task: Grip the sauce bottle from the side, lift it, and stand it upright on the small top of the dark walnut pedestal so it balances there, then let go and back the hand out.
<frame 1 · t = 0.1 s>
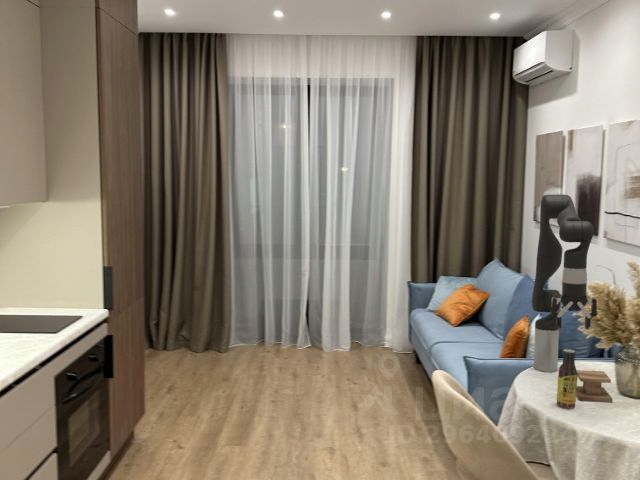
hand: (572, 328, 202), 29 cm above the table, tool pointing down, fingers open, 8 cm apart
sauce bottle: (566, 406, 210), on the table
walnut pedestal: (591, 395, 219), on the table
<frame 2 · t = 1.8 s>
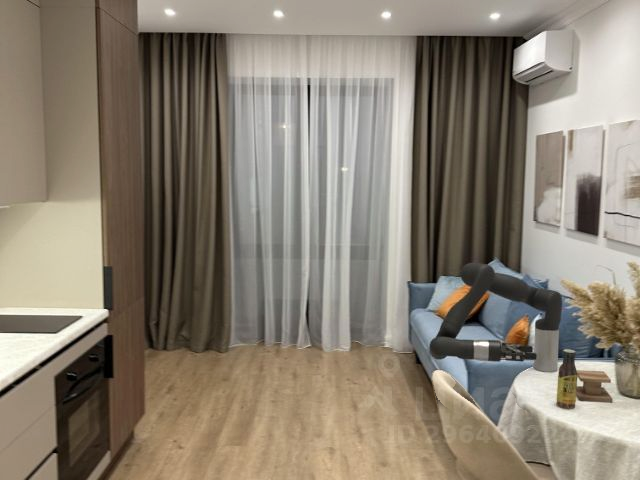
hand: (534, 352, 210), 19 cm above the table, tool horizontal, fingers open, 8 cm apart
nothing on the table moved.
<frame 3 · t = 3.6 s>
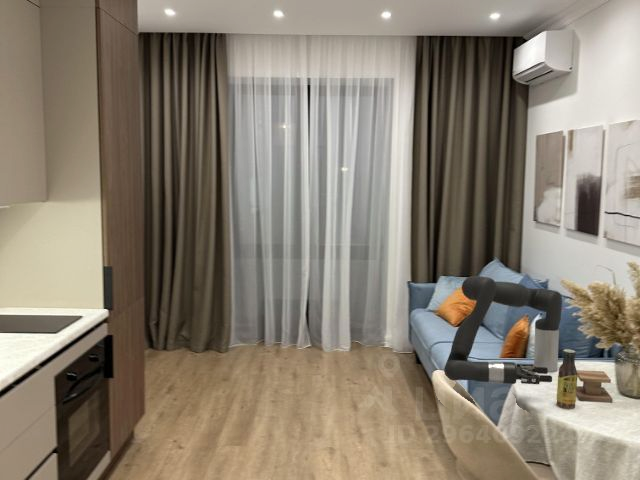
hand: (549, 374, 210), 11 cm above the table, tool horizontal, fingers open, 8 cm apart
nothing on the table moved.
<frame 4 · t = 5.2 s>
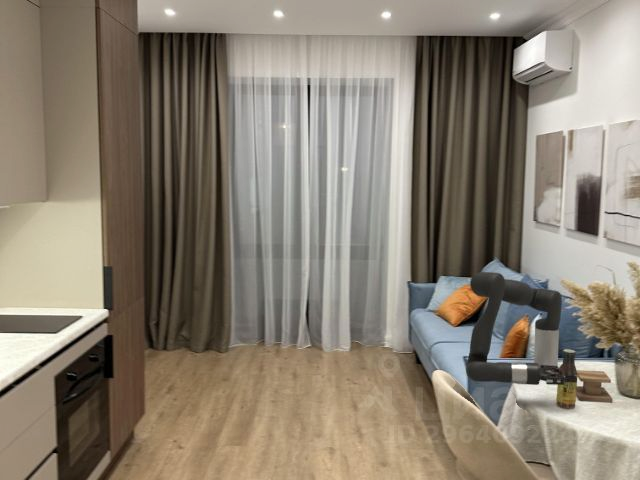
hand: (574, 375, 208), 11 cm above the table, tool horizontal, fingers closed on sauce bottle, 6 cm apart
sauce bottle: (566, 406, 210), on the table, touching gripper
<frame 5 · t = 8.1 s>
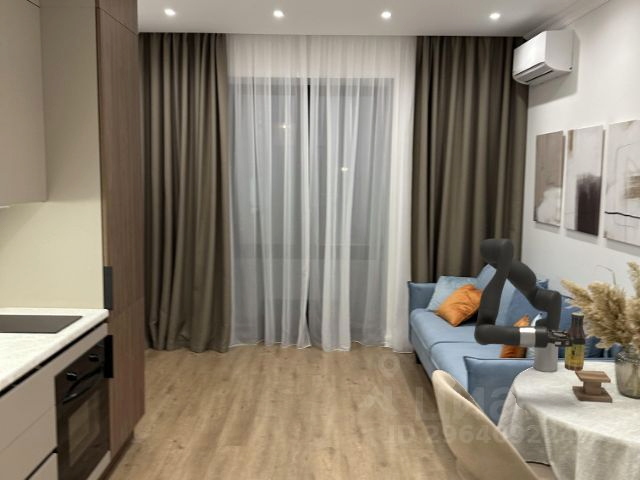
hand: (582, 338, 209), 24 cm above the table, tool horizontal, fingers closed on sauce bottle, 6 cm apart
sauce bottle: (574, 369, 211), point 12 cm above the table, touching gripper
when the fingers open (20 cm above the table, at t = 10.7 s): sauce bottle drops 1 cm, resting on walnut pedestal.
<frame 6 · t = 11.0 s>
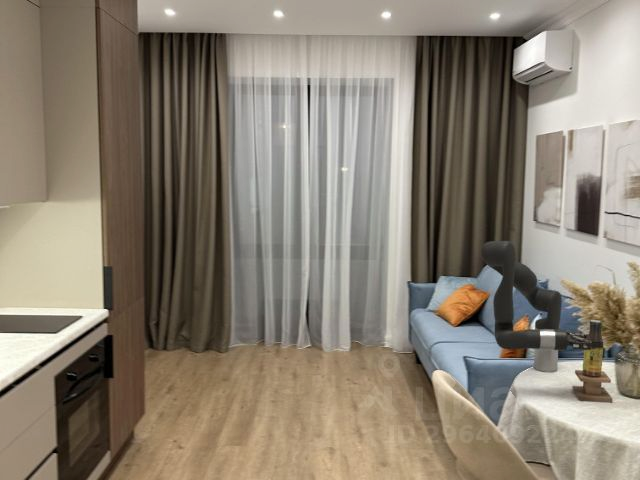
hand: (599, 341, 216), 21 cm above the table, tool horizontal, fingers open, 8 cm apart
sauce bottle: (592, 375, 218), point 8 cm above the table, touching walnut pedestal
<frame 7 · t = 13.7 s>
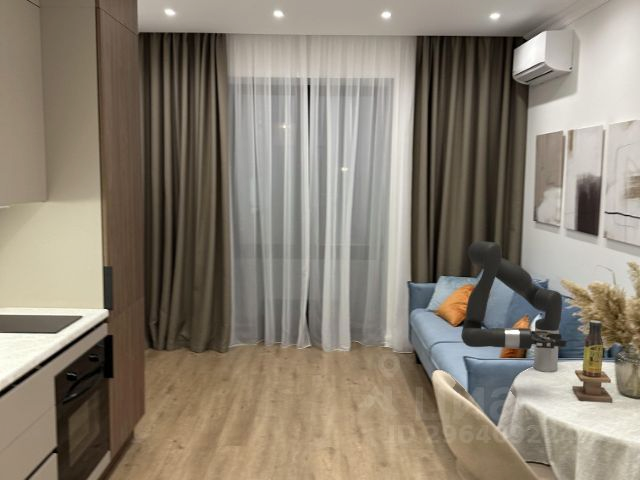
hand: (563, 340, 218), 21 cm above the table, tool horizontal, fingers open, 8 cm apart
nothing on the table moved.
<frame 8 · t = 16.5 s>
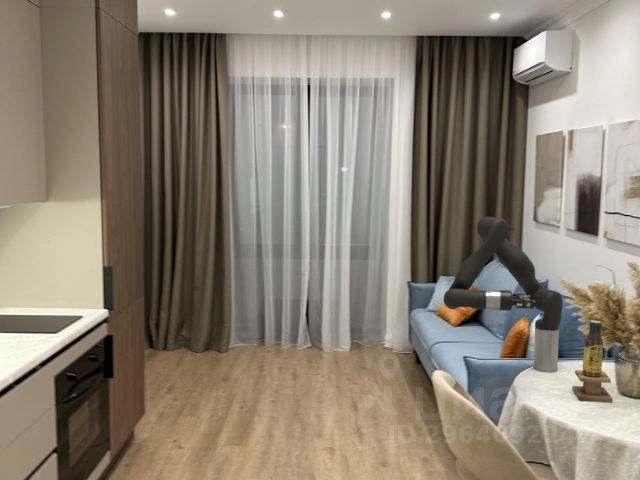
hand: (543, 301, 221), 34 cm above the table, tool horizontal, fingers open, 8 cm apart
nothing on the table moved.
at the end: sauce bottle inside the target area on the walnut pedestal (0.3 cm from its centre), point 7.8 cm above the walnut pedestal's base; sauce bottle tilted 0°; the gripper is holding nothing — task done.
